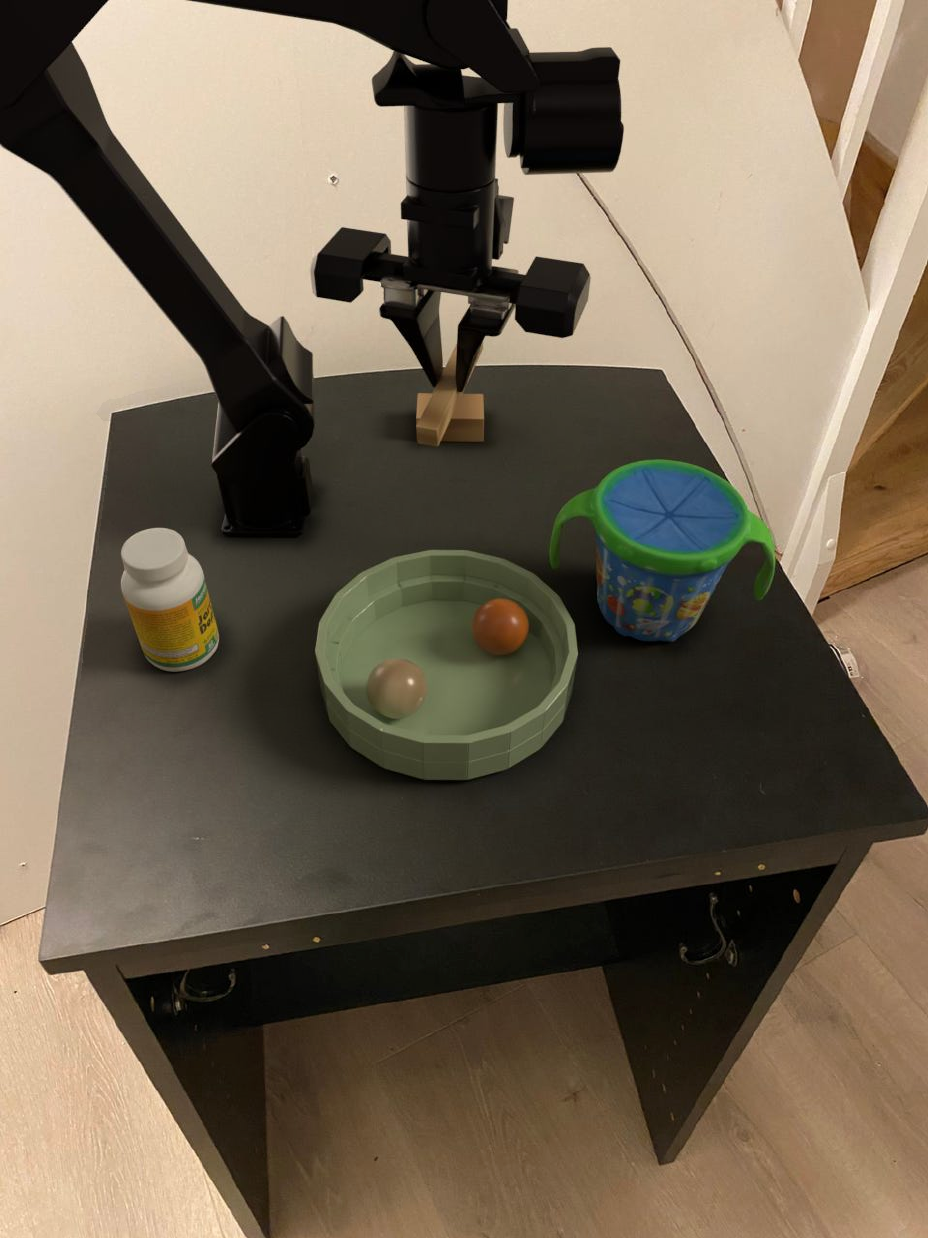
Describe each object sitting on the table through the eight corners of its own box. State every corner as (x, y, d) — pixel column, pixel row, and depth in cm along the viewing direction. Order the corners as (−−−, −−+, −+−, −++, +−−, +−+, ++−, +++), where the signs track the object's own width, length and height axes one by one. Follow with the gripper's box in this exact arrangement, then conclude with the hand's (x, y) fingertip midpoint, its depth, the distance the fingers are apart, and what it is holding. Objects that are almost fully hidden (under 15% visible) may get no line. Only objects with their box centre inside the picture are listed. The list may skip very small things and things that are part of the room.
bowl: (309, 784, 59) (301, 741, 56) (334, 592, 71) (329, 548, 68) (580, 785, 60) (588, 743, 56) (560, 594, 72) (566, 550, 68)
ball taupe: (362, 715, 63) (415, 736, 62) (349, 690, 60) (404, 712, 59) (389, 666, 65) (441, 685, 64) (378, 639, 61) (432, 659, 60)
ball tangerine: (466, 625, 63) (458, 609, 67) (493, 673, 64) (483, 655, 68) (518, 596, 63) (507, 581, 67) (544, 644, 64) (531, 628, 68)
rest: (416, 441, 85) (416, 418, 83) (418, 415, 88) (417, 392, 86) (483, 442, 85) (484, 418, 83) (482, 416, 88) (483, 393, 86)
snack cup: (759, 586, 72) (795, 481, 65) (745, 686, 66) (783, 582, 58) (562, 543, 76) (575, 438, 68) (529, 635, 69) (539, 529, 61)
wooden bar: (438, 447, 69) (436, 430, 67) (417, 443, 69) (415, 426, 68) (483, 348, 75) (482, 331, 74) (464, 345, 76) (463, 328, 75)
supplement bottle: (145, 624, 69) (111, 524, 62) (219, 614, 70) (194, 514, 63) (143, 680, 65) (107, 580, 58) (221, 668, 66) (195, 569, 59)
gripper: (618, 147, 63) (591, 354, 75) (359, 114, 67) (371, 316, 78) (584, 214, 56) (560, 432, 67) (295, 173, 60) (319, 387, 71)
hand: (449, 387), depth 71 cm, fingers closed on wooden bar, 2 cm apart
